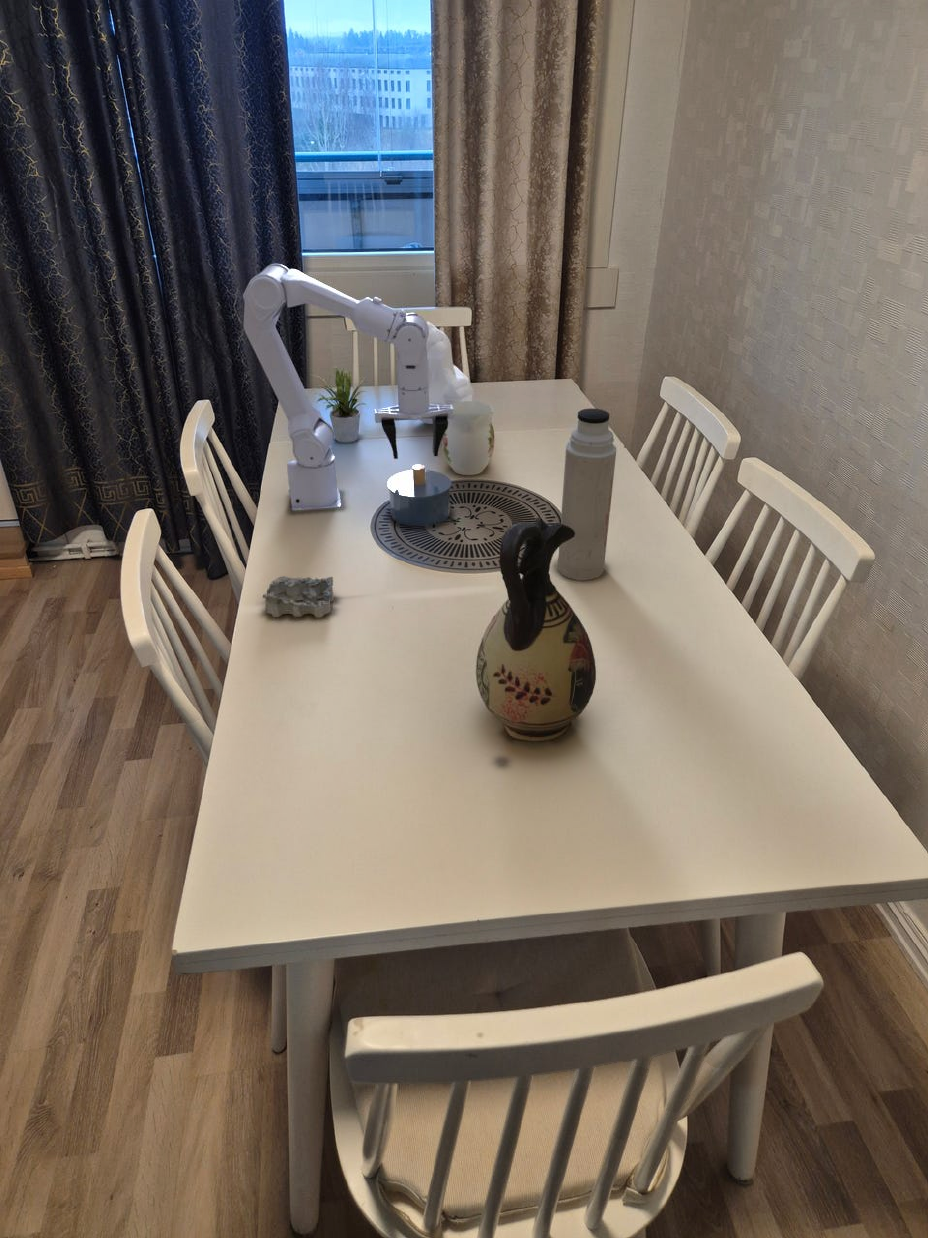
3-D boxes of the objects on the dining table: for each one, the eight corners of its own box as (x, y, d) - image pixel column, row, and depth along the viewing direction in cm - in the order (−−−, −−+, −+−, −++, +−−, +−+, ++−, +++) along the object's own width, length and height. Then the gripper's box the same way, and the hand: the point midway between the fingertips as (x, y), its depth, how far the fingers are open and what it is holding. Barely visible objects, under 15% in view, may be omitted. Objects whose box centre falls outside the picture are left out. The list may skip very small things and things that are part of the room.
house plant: (305, 431, 200) (297, 362, 191) (360, 422, 205) (355, 354, 196) (323, 452, 189) (315, 380, 180) (381, 442, 194) (377, 372, 185)
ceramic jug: (519, 669, 122) (528, 478, 105) (612, 713, 114) (637, 514, 97) (443, 730, 111) (440, 527, 95) (539, 783, 103) (554, 572, 86)
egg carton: (262, 618, 134) (258, 596, 131) (274, 592, 140) (270, 571, 138) (329, 619, 133) (326, 598, 131) (337, 594, 139) (335, 573, 137)
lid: (390, 504, 154) (389, 482, 152) (384, 477, 164) (383, 456, 162) (456, 499, 156) (456, 478, 154) (446, 472, 166) (446, 452, 164)
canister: (393, 530, 158) (392, 500, 154) (388, 504, 167) (386, 474, 164) (453, 526, 159) (453, 495, 156) (445, 500, 169) (444, 470, 165)
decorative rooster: (397, 381, 209) (389, 317, 185) (457, 365, 211) (457, 299, 187) (426, 468, 202) (422, 413, 178) (489, 450, 204) (493, 393, 180)
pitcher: (490, 450, 190) (491, 390, 182) (496, 484, 175) (497, 420, 167) (442, 451, 190) (441, 391, 182) (443, 484, 175) (442, 421, 167)
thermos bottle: (605, 559, 149) (621, 405, 133) (602, 582, 142) (618, 423, 127) (560, 555, 150) (571, 402, 134) (555, 577, 144) (565, 419, 128)
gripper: (374, 394, 150) (379, 466, 157) (455, 390, 151) (456, 461, 159) (372, 382, 155) (376, 451, 163) (450, 378, 157) (450, 447, 165)
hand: (415, 455), depth 161 cm, fingers open, 7 cm apart
